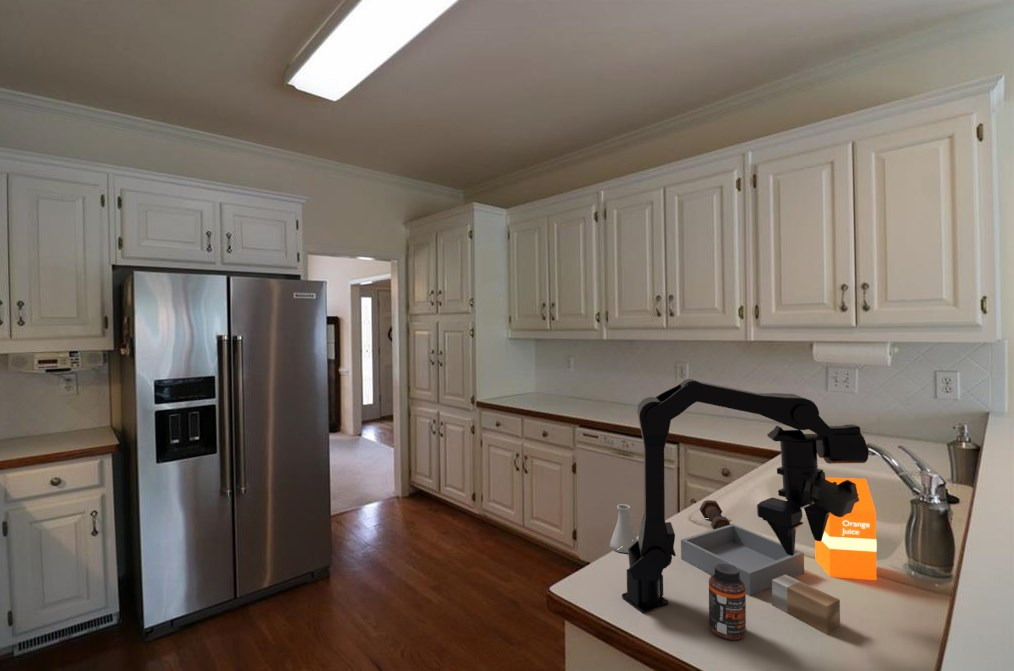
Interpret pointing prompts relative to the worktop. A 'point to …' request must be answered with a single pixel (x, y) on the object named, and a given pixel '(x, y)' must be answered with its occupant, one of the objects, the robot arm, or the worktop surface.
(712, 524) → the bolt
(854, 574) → the orange juice
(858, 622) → the worktop surface
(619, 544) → the flask
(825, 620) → the tan rectangular block
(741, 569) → the bin
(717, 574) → the supplement bottle
